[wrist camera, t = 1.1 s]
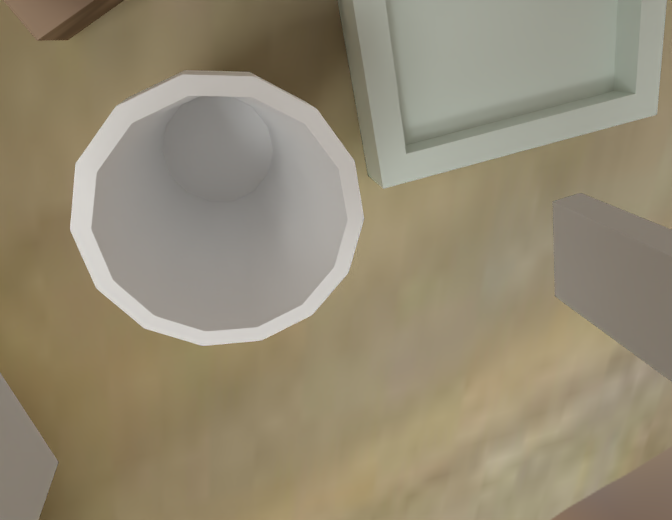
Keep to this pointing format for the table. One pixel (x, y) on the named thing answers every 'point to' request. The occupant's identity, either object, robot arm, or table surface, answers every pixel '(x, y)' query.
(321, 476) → the table surface
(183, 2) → the table surface
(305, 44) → the table surface
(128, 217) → the foam cup
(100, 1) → the walnut block
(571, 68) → the tray
